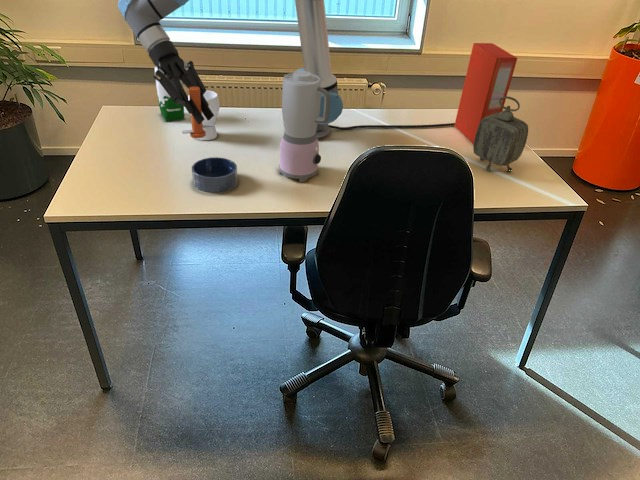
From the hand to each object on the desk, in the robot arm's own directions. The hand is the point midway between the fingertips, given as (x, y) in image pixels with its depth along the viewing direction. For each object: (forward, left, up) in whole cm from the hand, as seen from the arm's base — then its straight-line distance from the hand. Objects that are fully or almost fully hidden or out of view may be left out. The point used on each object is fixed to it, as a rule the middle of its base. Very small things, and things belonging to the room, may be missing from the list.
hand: (206, 119), depth 148 cm
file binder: (-86, -58, -20) cm, 105 cm away
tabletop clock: (-89, -31, -20) cm, 96 cm away
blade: (+3, -2, -6) cm, 7 cm away
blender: (-27, -12, -20) cm, 36 cm away
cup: (+11, -32, -20) cm, 39 cm away
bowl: (-2, 0, -20) cm, 20 cm away
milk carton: (+28, -45, -20) cm, 57 cm away
